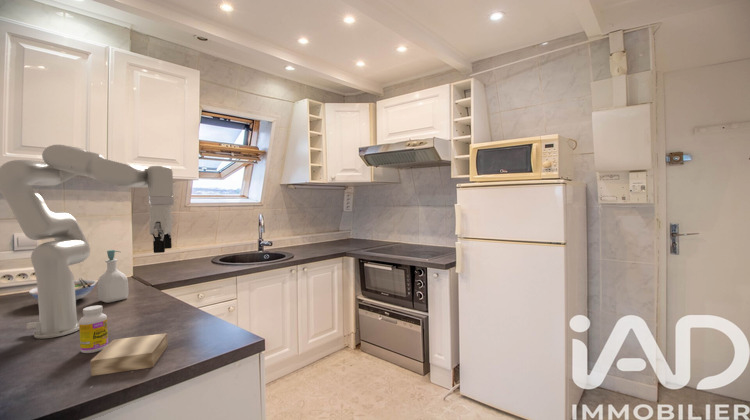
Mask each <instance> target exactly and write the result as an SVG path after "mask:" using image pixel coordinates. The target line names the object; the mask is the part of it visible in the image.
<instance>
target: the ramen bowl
mask: <svg viewBox="0 0 750 420" xmlns="http://www.w3.org/2000/svg"><path fill="white" fill-rule="evenodd" d="M97 282H98V280H93V279H83V278H80V277H79V278H78V280H74V283H75V297H76V301H78V300H79V299H81V298H84V297H86V296H87V295H88V294H89V293H91V291H92V290H93V289H94V287H95V286H96V285H97ZM28 293H29V294H30V295H31V296H32V297H33V298H34V299H35V300H37V301H38V290H37V287H34V288H31V289H30V290H29V291H28Z"/></svg>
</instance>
